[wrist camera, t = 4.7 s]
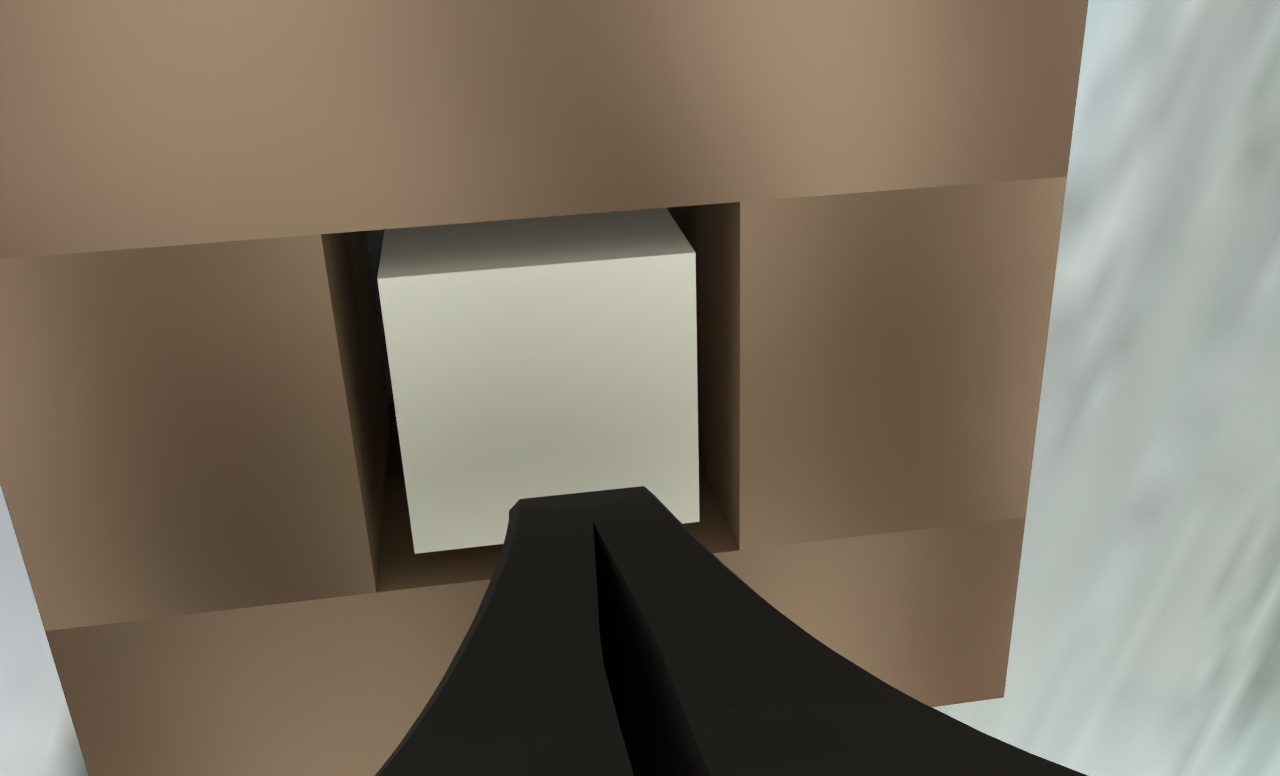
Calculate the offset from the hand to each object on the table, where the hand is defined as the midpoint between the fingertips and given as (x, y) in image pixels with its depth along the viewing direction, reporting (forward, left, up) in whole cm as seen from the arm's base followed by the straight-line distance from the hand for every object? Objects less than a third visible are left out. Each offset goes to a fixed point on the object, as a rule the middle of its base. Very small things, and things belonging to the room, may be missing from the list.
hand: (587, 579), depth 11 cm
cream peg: (0, 0, -10) cm, 10 cm away
